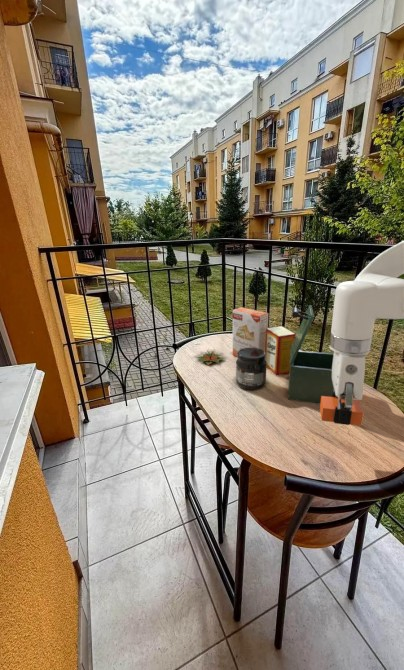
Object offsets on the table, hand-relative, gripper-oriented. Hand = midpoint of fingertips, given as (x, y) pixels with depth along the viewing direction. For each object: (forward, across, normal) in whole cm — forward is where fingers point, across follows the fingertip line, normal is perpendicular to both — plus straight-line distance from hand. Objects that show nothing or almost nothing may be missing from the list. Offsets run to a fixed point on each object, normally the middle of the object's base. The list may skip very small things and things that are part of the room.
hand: (339, 414), depth 64 cm
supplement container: (+11, +27, +24) cm, 38 cm away
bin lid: (-9, +27, +8) cm, 29 cm away
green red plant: (+11, +43, +43) cm, 62 cm away
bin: (+11, +26, +4) cm, 29 cm away
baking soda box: (+11, +41, +16) cm, 45 cm away
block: (0, 0, 0) cm, 0 cm away
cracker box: (+11, +48, +28) cm, 56 cm away
